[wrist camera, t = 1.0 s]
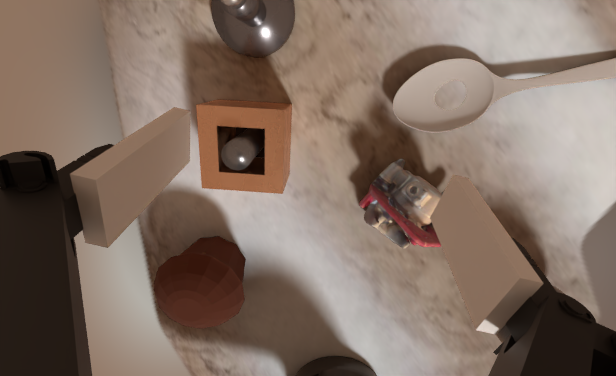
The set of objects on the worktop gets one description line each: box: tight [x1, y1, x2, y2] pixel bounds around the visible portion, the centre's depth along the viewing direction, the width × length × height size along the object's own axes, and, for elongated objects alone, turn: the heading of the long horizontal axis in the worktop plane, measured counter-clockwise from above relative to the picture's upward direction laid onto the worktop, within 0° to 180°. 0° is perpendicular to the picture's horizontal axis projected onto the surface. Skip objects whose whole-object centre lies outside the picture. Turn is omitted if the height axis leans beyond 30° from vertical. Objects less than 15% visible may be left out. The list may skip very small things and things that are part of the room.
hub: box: [211, 0, 295, 57], centre depth 29 cm, size 9×9×10 cm
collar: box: [196, 99, 292, 194], centre depth 36 cm, size 9×9×7 cm
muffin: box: [154, 236, 246, 328], centre depth 41 cm, size 12×11×10 cm
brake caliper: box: [359, 159, 445, 248], centre depth 37 cm, size 11×11×12 cm
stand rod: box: [221, 128, 265, 170], centre depth 35 cm, size 3×3×9 cm
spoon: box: [393, 58, 616, 132], centre depth 35 cm, size 35×8×3 cm, turn 100°
